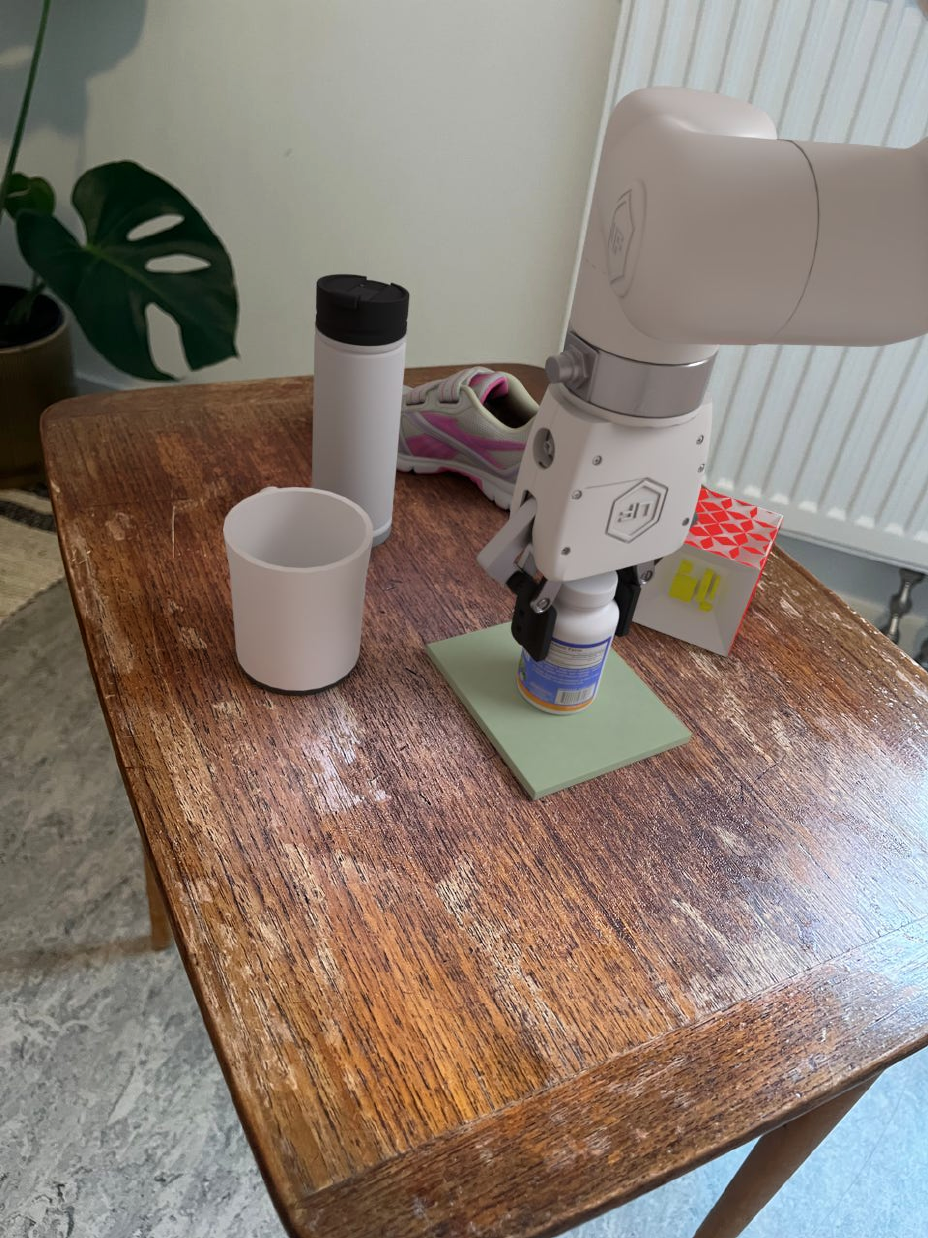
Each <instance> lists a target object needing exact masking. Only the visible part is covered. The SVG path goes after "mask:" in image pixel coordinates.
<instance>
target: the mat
mask: <svg viewBox="0 0 928 1238" xmlns="http://www.w3.org/2000/svg"><path fill="white" fill-rule="evenodd" d="M511 624H512V620H510V621H506V622H502V623H500V624H499V623H498V624H496V625H492V626H489V627H485V628H481V629H478V630H474V631H471V632H467V633H464V634H459V635H456V636H452V637H448V638H445V639H441V640H438V641H434V642H430V643H427V644H426V651H425V654H426V655H427V656H428V658H429V659H430V660H431V662H432V663H433V665H434V666H435V667H436V669H437V670H438V671H439V673H440V674H441V676H442V677H443V678H444V680H445V681H446V682H447V684H448V685H449V687H450V688H451V689H452V691H453V692H454V694H455V695H456V696H457V697H458V699H459V700H460V702H461V703H462V704H463V706H464V707H465V708H466V710H467V711H468V713H469V714H470V716H471V717H472V718H473V719H474V721H475V723H476V724H477V725H478V726H479V728H480V729H481V731H482V732H483V733H484V735H485V736H486V738H487V739H488V740H489V741H490V743H491V744H492V746H493V747H494V748H495V750H496V751H497V753H498V754H499V755H500V757H501V758H502V760H503V761H504V762H505V764H506V765H507V766H508V768H509V770H511V772H512V774H513V775H514V776H515V777H516V779H517V780H518V781H519V783H520V784H521V786H522V787H523V788H524V790H525V791H526V793H527V794H528V795H529V796H530V798H531V800H532V801H536V800H538V799H539V800H540V799H542V798H545V797H547V796H549V795H552V794H554V793H558V792H560V791H562V790H565V789H568V788H571V787H574V786H576V785H579V784H581V783H584V782H587V781H589V780H592V779H595V778H597V777H601V776H603V775H606V774H608V773H611V772H614V771H616V770H619V769H621V768H625V767H626V766H629V765H632V764H635V763H638V762H641V761H644V760H645V759H648V758H651V757H654V756H656V755H658V754H662V753H664V752H667V751H670V750H672V749H674V748H678V747H680V746H682V745H686V744H688V743H690V740H691V739H692V732H691V731H690V730H689V728H687V727H686V725H684V724H683V722H682V721H680V719H679V718H678V717H677V716H676V715H675V714H674V713H673V712H672V711H671V710H670V709H669V708H668V707H667V706H666V704H665V703H664V702H663V701H662V699H660V698H659V697H658V696H657V695H656V694H655V693H654V691H653V690H651V688H650V687H649V686H648V685H647V684H646V683H645V682H644V681H643V679H641V678H640V676H639V675H638V674H637V673H636V672H635V671H634V670H633V668H632V667H631V666H630V665H629V664H628V663H627V662H626V661H625V660H624V659H623V658H622V657H621V656H620V655H619V653H618V652H616V650H615V649H614V648H613V647H612V645H611V646H610V650H609V653H608V656H607V659H606V663H605V666H604V670H603V673H602V677H601V680H600V684H599V687H598V691H597V694H596V696H595V699H594V700H593V702H592V703H591V704H590V705H589V706H588V707H587V708H585V709H584V710H582V711H580V712H577V713H573V714H568V715H559V714H552V713H548V712H545V711H543V710H540V709H539V708H537V707H535V706H533V705H532V704H531V703H529V702H528V701H527V700H526V699H525V698H524V697H523V696H522V694H521V693H520V691H519V688H518V685H517V672H518V666H519V662H520V657H521V652H522V648H523V646H521V645H519V644H518V643H517V641H516V640H515V639H514V638H513V635H512V632H511Z"/></svg>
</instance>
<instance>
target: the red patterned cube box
mask: <svg viewBox="0 0 928 1238" xmlns="http://www.w3.org/2000/svg"><path fill="white" fill-rule="evenodd" d="M695 510H696V512H697V514H698V516H699V519H698V521H697V523H696V524H695V525H694V526H693V527H692V528H691V529H690V530H689V531H688V534H687V537H686V539H685V541H684V543H683V545H682V546H681V547H680V548H679V549H678V550H676V551H675V552H673V553H671V554H669V555H667V556H665V557H664V558H663V559H662V560H660V561H659V562H658V563H657V564H656V565H655V574H654V577H653V578H652V580H651V581H650V582H648V583H647V584H645V585H641V586H640V587H641V588H642V589H641V592H640V595H639V599H638V602H637V606H636V609H635V612H634V616H633V619H632V622H634V623H635V624H636V623H637V624H638V625H641V626H644V627H647V628H648V629H651V630H653V631H657V632H660V633H662V634H664V635H667V636H670V637H672V638H675V639H678V640H680V641H682V642H685V643H688V644H690V645H692V646H693V645H694V646H696V647H699V648H701V649H704V650H706V651H708V652H712V653H714V654H717V655H719V656H722V657H725V658H727V657H728V656H729V655H730V652H731V650H732V648H733V646H734V644H735V643H734V642H735V640H736V638H737V635H738V633H739V631H740V628H741V625H742V623H743V620H744V618H745V617H746V614H747V611H748V609H749V606H750V604H751V602H752V601H753V597H754V595H755V592H756V591H757V587H758V584H759V582H760V579H761V577H762V576H763V573H764V570H765V567H766V564H767V561H768V558H769V556H770V555H771V553H772V549H773V547H774V544H775V541H776V538H777V536H778V534H779V531H780V530H781V527H782V525H783V522H784V514H780V513H777V512H775V511H771V510H769V509H765V508H762V507H760V506H756V505H753V504H751V503H748V502H745V501H741V500H739V499H736V498H733V497H730V496H727V495H725V494H721V493H718V492H715V491H712V490H710V489H706V488H703V487H701V489H700V493H699V497H698V501H697V505H696V508H695Z"/></svg>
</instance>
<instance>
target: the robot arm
mask: <svg viewBox="0 0 928 1238" xmlns="http://www.w3.org/2000/svg"><path fill="white" fill-rule="evenodd" d="M914 1H915V3H916V5H917V6H918V9H919V10H920V12H921V14H922V15H923V17H924V18H925V19H926V21H927V22H928V0H914ZM599 156H600V157H599V162H598V167H597V172H596V178H595V183H594V187H593V188H594V189H593V193H592V198H591V204H590V209H589V216H588V220H587V224H586V225H587V226H586V231H585V236H584V242H583V247H582V252H581V258H580V263H579V268H578V272H577V278H576V282H575V283H576V284H575V288H574V293H573V297H572V298H573V299H572V304H571V310H570V314H569V319H568V323H567V328H566V333H565V338H564V343H563V348H562V351H561V352H560V353H559V354H555V355H550V356H548V357H547V359H546V360H545V364H544V373H545V377H546V378H547V381H549V384H548V385H547V388H546V391H545V393H544V395H543V398H542V399H541V402H540V405H539V406H540V407H539V410H538V412H537V415H536V418H535V420H534V423H533V426H532V429H531V432H530V435H529V438H528V441H527V444H526V447H525V451H524V454H523V458H522V461H521V465H520V469H519V473H518V477H517V481H516V486H515V490H514V495H513V500H512V505H511V511H510V510H509V511H510V512H509V518H508V520H507V521H506V523H505V524H503V526H502V527H501V528H500V529H499V530H498V532H497V533H496V534H495V535H494V536H493V537H492V538H491V539H490V541H489V542H487V544H485V546H484V547H483V548H482V549H481V551H479V553H478V554H477V556H476V563H477V564H478V566H480V568H481V569H482V570H483V571H484V572H485V574H486V575H487V576H488V577H490V578H491V579H493V580H494V581H496V582H498V583H499V584H501V585H502V586H505V587H506V588H508V589H509V591H511V593H513V594H514V595H516V598H515V603H514V609H513V613H512V619H511V621H512V624H511V632H512V635H513V638H514V639H515V640H516V641H517V643H518V644H519V645H521V646H523V648H524V649H525V650H526V651H527V652H528V654H529V655H530V656H531V657H532V658H533V660H534V661H535V662H540V661H543V660H545V659H546V657H547V656H548V652H549V648H550V643H551V639H552V635H553V630H554V626H555V622H556V617H557V611H556V609H555V608H554V607H553V606H552V605H551V604H552V602H553V600H554V598H555V596H556V595H557V593H558V591H559V589H560V587H561V585H562V583H563V582H568V581H574V580H578V579H582V578H586V577H590V576H594V575H598V574H602V573H606V572H610V571H614V570H615V571H616V573H617V576H618V582H617V587H616V591H615V595H614V600H615V601H616V603H617V606H618V610H619V619H618V623H617V627H616V630H615V633H614V636H615V637H618V638H622V637H627V636H629V632H630V629H631V626H632V622H633V621H632V619H633V616H634V612H635V609H636V606H637V602H638V599H639V595H640V592H641V589H642V588H641V587H640V586H641V585H645V584H647V583H648V582H650V581H651V580H652V578H653V577H654V574H655V565H656V564H657V563H658V562H659V561H660V560H662V559H663V558H664V557H665V556H667V555H669V554H671V553H673V552H675V551H676V550H678V549H679V548H680V547H681V546H682V545H683V543H684V541H685V539H686V537H687V534H688V531H689V530H690V529H691V528H692V527H693V526H694V525H695V524H696V523H697V521H698V519H699V516H698V514H697V512H696V510H695V508H696V505H697V501H698V497H699V493H700V489H701V488H702V485H703V480H704V475H705V471H706V466H707V465H706V464H707V461H708V455H709V451H710V450H709V449H710V442H711V437H712V436H711V435H712V425H713V424H712V423H713V397H712V394H711V393H710V391H708V390H707V389H708V385H709V382H710V380H711V376H712V372H713V369H714V366H715V363H716V359H717V355H718V353H719V349H720V347H721V346H758V345H777V346H778V345H779V346H780V345H782V346H815V347H816V346H817V347H819V346H820V347H822V346H823V347H847V348H850V347H851V348H874V347H875V348H876V347H884V346H890V345H894V344H898V343H902V342H907V341H911V340H914V339H917V338H920V337H922V336H925V335H927V334H928V135H927V136H926V137H924V138H923V139H921V140H919V141H918V142H916V143H915V144H913V145H912V146H909V147H907V148H899V147H891V146H881V145H871V144H870V145H869V144H858V143H857V144H856V143H844V142H843V143H841V142H826V141H809V140H798V139H797V140H796V139H781V138H778V132H777V129H776V125H775V124H774V122H773V121H772V119H771V118H770V116H769V115H768V114H767V113H766V112H764V110H761V109H759V108H758V107H757V106H755V105H753V104H752V103H750V102H747V101H744V100H742V99H739V98H736V97H731V96H729V95H725V94H722V93H717V92H714V91H708V90H703V89H698V88H691V87H690V88H689V87H688V88H687V87H681V86H669V85H668V86H665V85H664V86H662V85H661V86H659V85H658V86H648V87H643V88H639V89H635V90H633V91H631V92H629V93H627V94H626V95H624V96H623V97H622V98H621V99H619V101H618V102H617V103H616V105H615V107H614V108H613V110H612V112H611V113H610V115H609V118H608V120H607V124H606V127H605V133H604V136H603V139H602V145H601V150H600V155H599ZM521 553H522V554H521ZM520 555H521V556H520ZM519 556H520V558H519V560H518V562H517V563H516V562H515V561H516V560H517V558H518V557H519ZM538 571H539V573H541V574H542V577H541V579H540V581H537V579H535V576H536V574H537V572H538Z"/></svg>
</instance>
